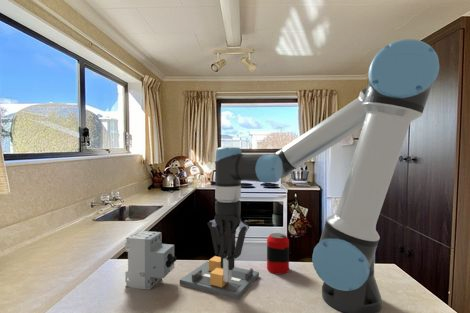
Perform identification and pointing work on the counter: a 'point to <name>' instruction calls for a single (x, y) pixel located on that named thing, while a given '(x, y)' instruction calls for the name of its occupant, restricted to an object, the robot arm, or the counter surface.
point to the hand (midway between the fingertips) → (227, 279)
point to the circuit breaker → (147, 259)
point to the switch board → (231, 289)
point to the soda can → (278, 253)
